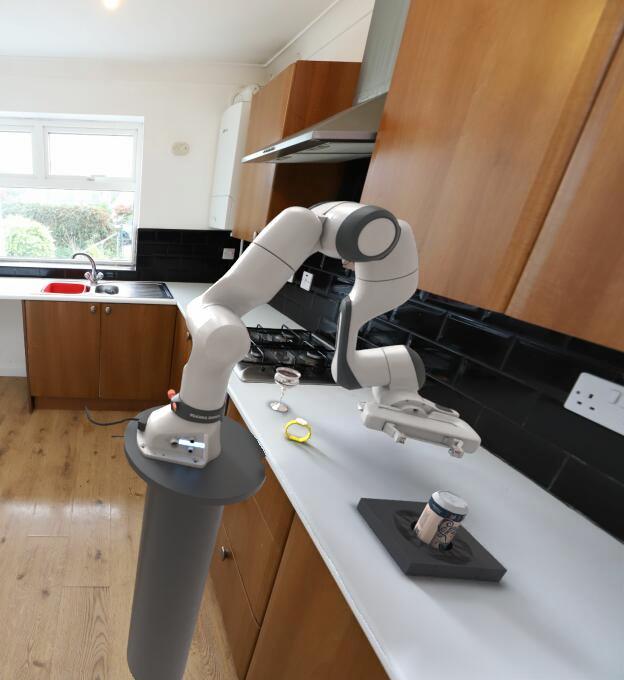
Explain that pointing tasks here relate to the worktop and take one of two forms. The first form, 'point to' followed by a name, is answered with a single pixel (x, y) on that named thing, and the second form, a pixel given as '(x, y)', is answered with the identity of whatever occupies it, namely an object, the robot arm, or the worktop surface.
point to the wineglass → (285, 384)
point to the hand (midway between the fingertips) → (428, 447)
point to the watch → (301, 423)
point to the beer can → (441, 519)
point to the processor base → (420, 558)
